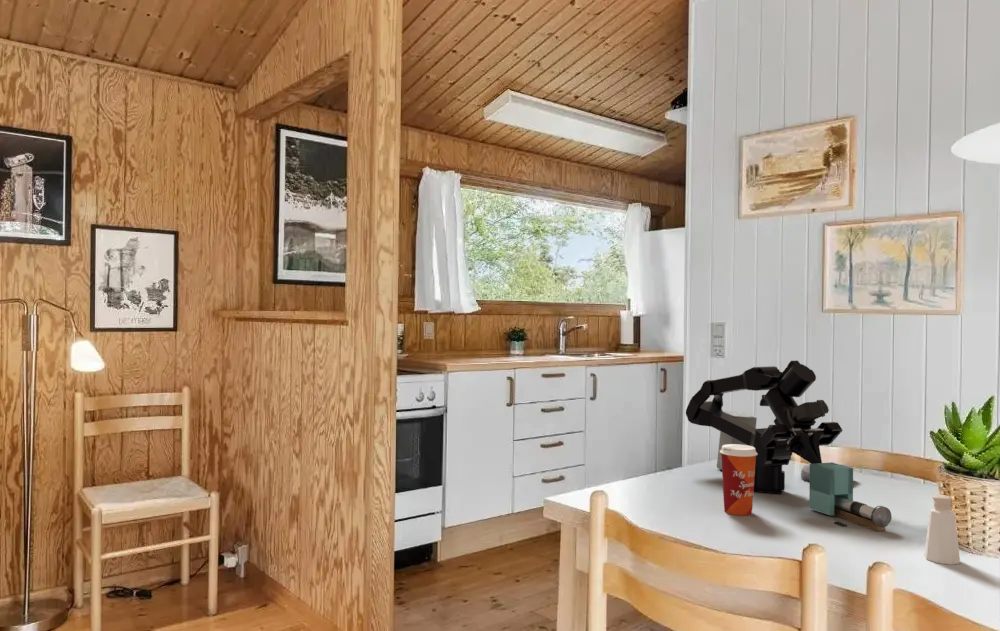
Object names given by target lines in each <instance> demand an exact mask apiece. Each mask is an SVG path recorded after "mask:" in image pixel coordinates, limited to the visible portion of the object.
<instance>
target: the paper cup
mask: <svg viewBox="0 0 1000 631" xmlns="http://www.w3.org/2000/svg"><path fill="white" fill-rule="evenodd" d="M720 453H721V456H722V470H721V472H722V474H721V476H722V493H723V508H724V510H723V511H724V512H725V513H727V514H729V515H731V516H732V515H733V516H743V517H744V516H750V515H752V513H753V502H754V492H755V491H754V477H755V462H756V455H758V454H757V452H756V449H755V448H754V447H752V446H748V445H740V444H727V445H723V446H722V449H721V450H720Z"/></svg>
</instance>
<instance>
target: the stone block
mask: <svg viewBox="0 0 1000 631" xmlns="http://www.w3.org/2000/svg"><path fill="white" fill-rule="evenodd" d="M810 464H811V463H809V462H808V463H807V464H804V465H803V466H802V468H801V472H800V479H801V480H802V481H808V482H810ZM840 465H842V464H840ZM843 465H844V466H847V467H850V466H849V465H847V464H843Z"/></svg>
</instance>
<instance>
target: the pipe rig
mask: <svg viewBox="0 0 1000 631" xmlns="http://www.w3.org/2000/svg"><path fill="white" fill-rule="evenodd" d="M833 516H835V517H837V518H840V519H843V520H846V521H849V522H851V523H853V524H857V525H859V526H862V527H864V528H868V529H869V530H873V531H876V532H883V531H886V528H887V526H889V525H890V523H891V521H892V511H891V509H890V508H888V507H886V506H883V505H877V506H875V507H874V506H869V505H868V504H865V503H863V502H859V501H857V500H856V501H855V500H853V501H852V500H849V499H846V498H843V497H840V496H837V495H834V515H833ZM833 524H835V525H837V526H840V527H842V528H843V527H848V524H845V523H843V522H841V521H834V522H833Z"/></svg>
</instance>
